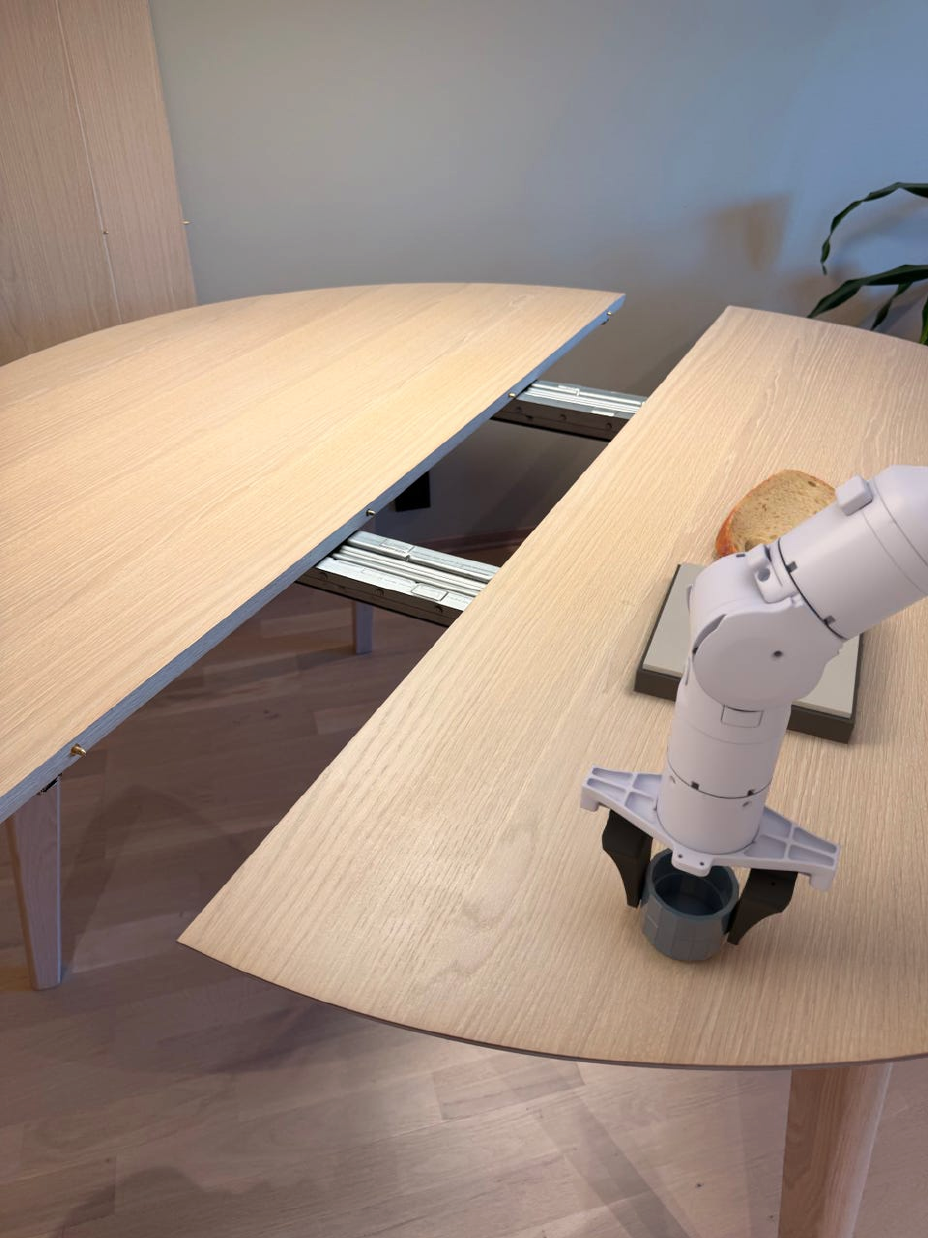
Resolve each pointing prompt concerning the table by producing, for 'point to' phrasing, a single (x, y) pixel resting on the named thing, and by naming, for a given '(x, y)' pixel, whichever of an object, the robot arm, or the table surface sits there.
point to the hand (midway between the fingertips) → (684, 912)
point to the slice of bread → (773, 511)
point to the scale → (815, 714)
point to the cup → (687, 909)
